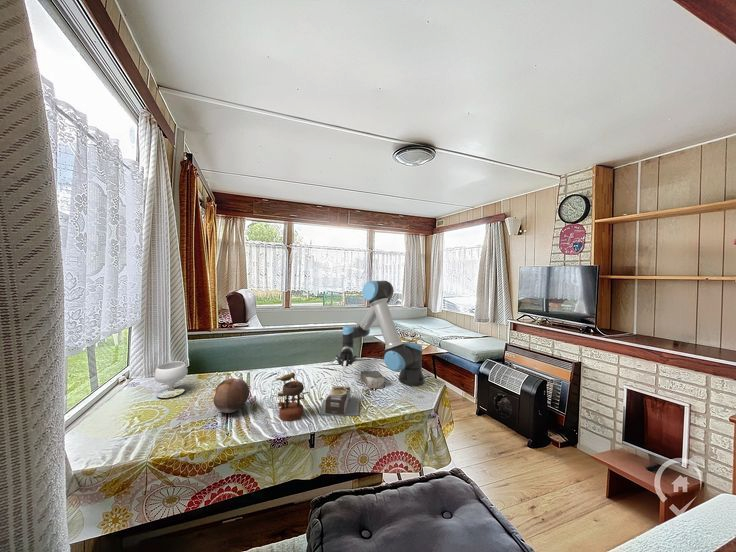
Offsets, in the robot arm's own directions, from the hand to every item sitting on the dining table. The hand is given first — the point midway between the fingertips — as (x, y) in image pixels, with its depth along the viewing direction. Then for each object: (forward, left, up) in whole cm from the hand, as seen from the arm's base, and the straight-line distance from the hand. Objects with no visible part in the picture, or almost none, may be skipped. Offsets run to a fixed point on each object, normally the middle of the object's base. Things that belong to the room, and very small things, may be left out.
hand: (344, 367), depth 153 cm
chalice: (+88, +10, -13) cm, 90 cm away
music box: (+21, +27, -13) cm, 36 cm away
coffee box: (0, +11, -9) cm, 14 cm away
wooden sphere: (+50, +25, -13) cm, 57 cm away
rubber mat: (0, +20, -12) cm, 24 cm away
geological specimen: (-16, -10, -13) cm, 23 cm away
